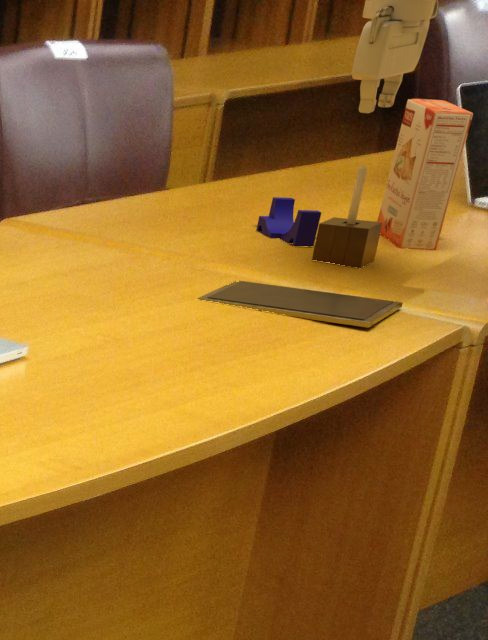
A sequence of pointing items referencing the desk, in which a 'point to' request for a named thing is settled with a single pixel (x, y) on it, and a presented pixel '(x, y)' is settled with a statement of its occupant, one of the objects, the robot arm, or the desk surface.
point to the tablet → (305, 303)
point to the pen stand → (347, 242)
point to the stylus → (357, 195)
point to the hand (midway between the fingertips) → (375, 109)
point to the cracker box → (423, 172)
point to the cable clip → (289, 223)
